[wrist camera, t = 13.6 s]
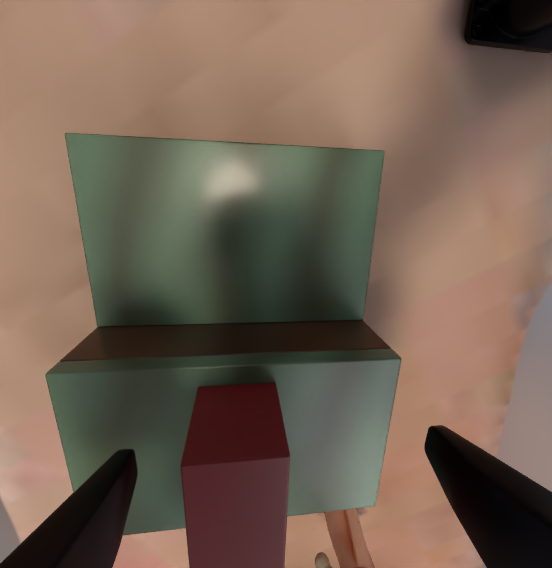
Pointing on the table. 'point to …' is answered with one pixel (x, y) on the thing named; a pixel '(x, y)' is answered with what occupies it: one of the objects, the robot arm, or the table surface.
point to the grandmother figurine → (346, 541)
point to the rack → (226, 311)
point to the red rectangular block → (236, 478)
